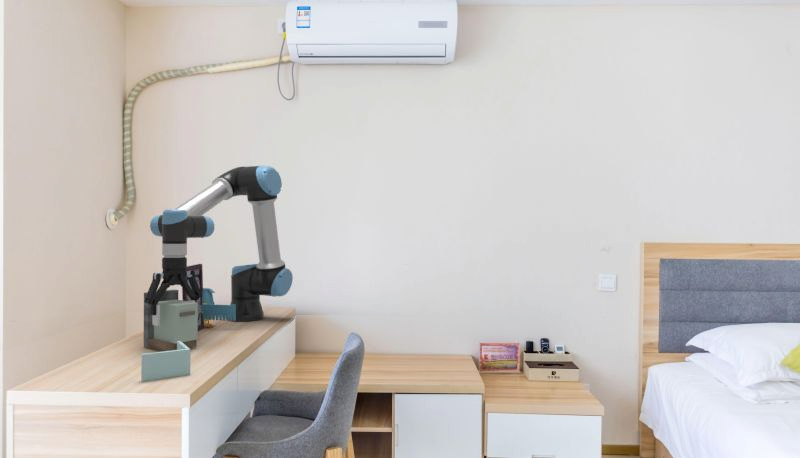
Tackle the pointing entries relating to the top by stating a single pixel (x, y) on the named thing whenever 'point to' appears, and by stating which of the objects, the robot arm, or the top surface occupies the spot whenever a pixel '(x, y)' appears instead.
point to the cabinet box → (177, 321)
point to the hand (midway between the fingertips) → (174, 322)
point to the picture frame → (199, 279)
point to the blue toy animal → (215, 309)
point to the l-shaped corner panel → (166, 363)
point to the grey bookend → (149, 328)
